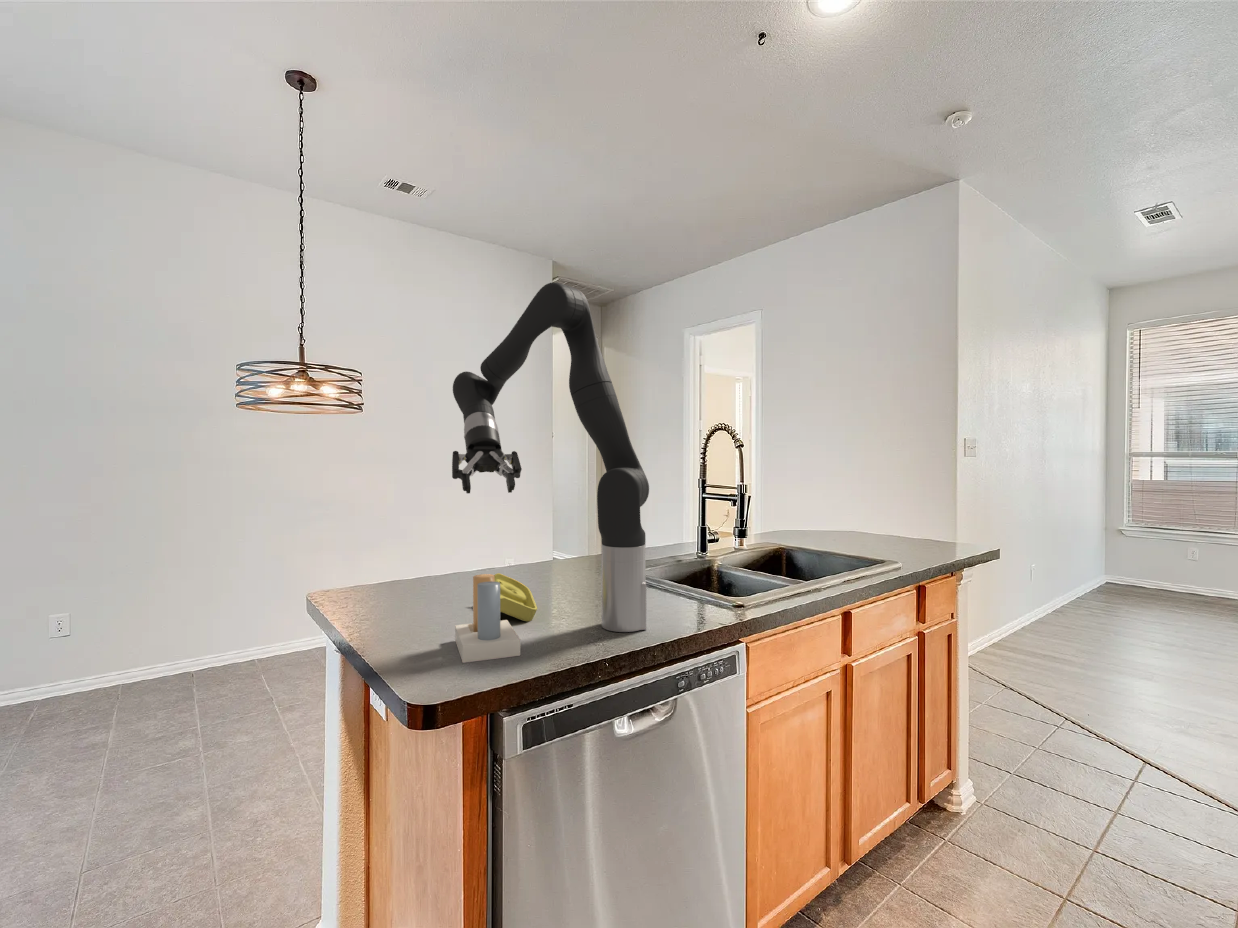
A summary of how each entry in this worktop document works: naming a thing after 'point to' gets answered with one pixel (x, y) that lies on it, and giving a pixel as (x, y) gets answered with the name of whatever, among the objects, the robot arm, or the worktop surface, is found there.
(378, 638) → the worktop surface
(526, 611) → the plastic component
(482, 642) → the housing
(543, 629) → the worktop surface
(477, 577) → the tan round-top capsule
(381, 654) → the worktop surface
